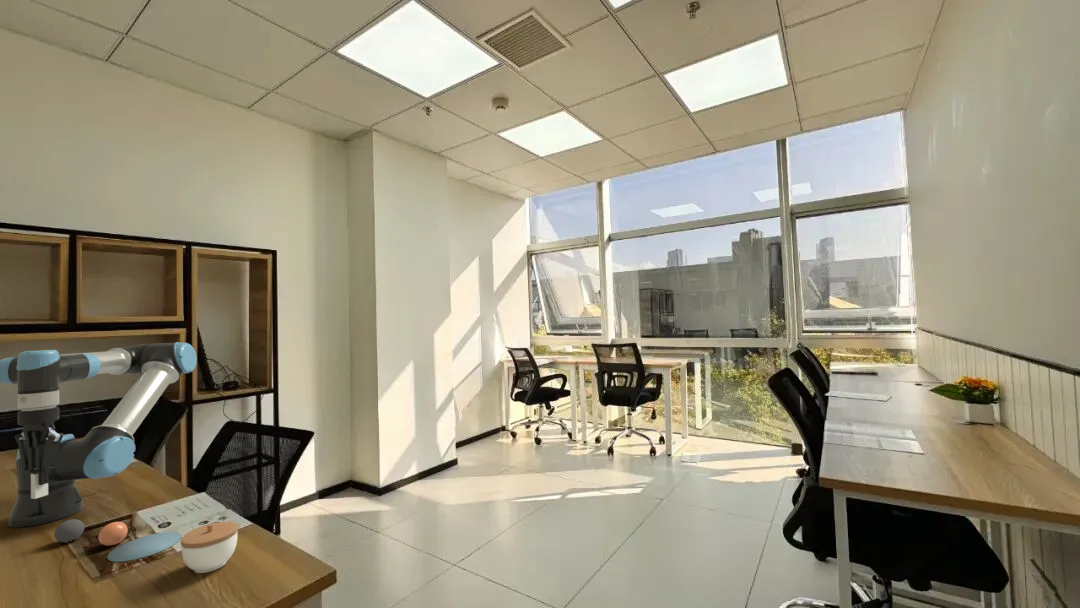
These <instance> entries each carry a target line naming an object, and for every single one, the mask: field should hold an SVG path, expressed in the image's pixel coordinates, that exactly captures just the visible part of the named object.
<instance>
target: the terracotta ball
mask: <svg viewBox="0 0 1080 608" xmlns="http://www.w3.org/2000/svg"><path fill="white" fill-rule="evenodd" d="M128 530H129V529H128V526H127V524H126V523H124V522H121V521H114V522H110V523H108V524H105V526H104V527H102V528H101V530H100V531H99V534H98V537H97V539H98V541H99V543H100V544H101V545H103V546H108V547H109V546H114V545H117V544H119V543H121V542H122V541H123V540H124V539H125V538H126V536H127V535H128Z"/></svg>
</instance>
